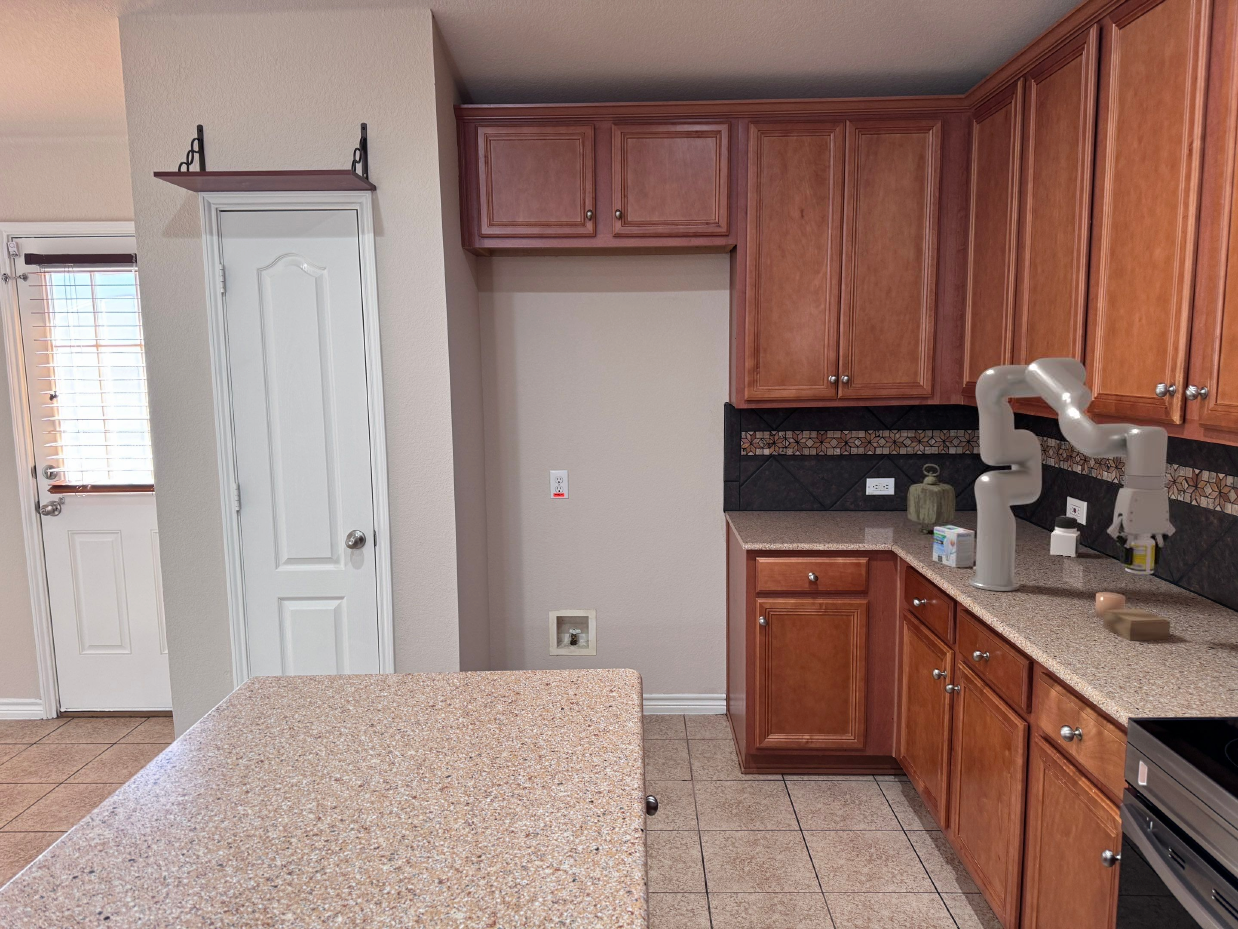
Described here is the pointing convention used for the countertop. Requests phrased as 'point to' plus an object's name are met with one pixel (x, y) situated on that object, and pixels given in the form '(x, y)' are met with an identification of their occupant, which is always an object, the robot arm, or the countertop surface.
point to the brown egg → (1108, 602)
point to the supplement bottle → (1142, 555)
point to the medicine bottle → (1065, 537)
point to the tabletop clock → (931, 502)
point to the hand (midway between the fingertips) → (1139, 562)
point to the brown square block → (1136, 624)
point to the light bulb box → (953, 546)
